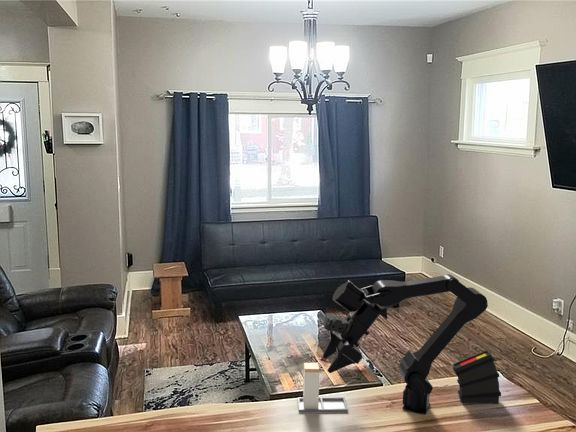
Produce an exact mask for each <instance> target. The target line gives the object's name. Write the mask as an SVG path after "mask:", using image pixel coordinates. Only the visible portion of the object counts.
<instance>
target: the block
mask: <svg viewBox="0 0 576 432" xmlns="http://www.w3.org/2000/svg"><path fill="white" fill-rule="evenodd" d="M302 384H303V385H302V386H303V391H302V394H303V395H302V397H303V406H304V409H318V406H319V397H320V396H319V395H320V364H319V362H303V383H302Z"/></svg>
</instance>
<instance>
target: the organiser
mask: <svg viewBox="0 0 576 432" xmlns="http://www.w3.org/2000/svg"><path fill="white" fill-rule="evenodd" d="M296 399H297V408H298V413H300V414H302V413H303V414H304V413H306V414H307V413H309V414H310V413H311V414H312V413H313V414H314V413H315V414H316V413H318V414H319V413H349V408H348V404H347V402H346V401H347V400H346V398H345V396H343V397H342V396H334V397H333V396H331V397H330V396H329V397H327V396H325V397H324V396H323V397H322V396H319V406H318V409H304V406H303V396H302V397H301V396H299V397H297V398H296Z"/></svg>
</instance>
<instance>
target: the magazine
mask: <svg viewBox="0 0 576 432" xmlns="http://www.w3.org/2000/svg"><path fill="white" fill-rule="evenodd" d="M494 361H495V358H494V356H493V355H492V354H491V352H490V351H489V350H483V351H481V352H479V353H476V354H474V355H472V356H470V357H467V358H465V359H464V358H463V360H460V361H457V362H455V363H453V364H452V366H453V367H452V370H453V371H454V374H455V375H456V376H457V379H456V382H457V384H458V386H459V390H457V394H458V398H459V400H460V402H461V403H463V404H464V403H465V404H495V405H496V404H499V403H500V397H501V396H502V391H500V383H499V378H500V377H501V376H500V373H499V372H498V370H497V367H496V364H495V362H494Z"/></svg>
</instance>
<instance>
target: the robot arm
mask: <svg viewBox="0 0 576 432" xmlns="http://www.w3.org/2000/svg"><path fill="white" fill-rule="evenodd" d="M448 292H451V293H452V294H453V295H454V296H455V297H456V299H455V300H454V304H453V306H452V309H451V312H450V313H449V314H448V315H447V317H446V318H445V319H444V320H443V321H442V323H441V324H440V325H438V327H437V328H436V330H435V331H434V332H433V333H432V334H431V335H430V337H429V338H428V339H427V340H426V341H425V342H424V344H423V345H422V346H421V348H419V349H418V350H416V351H415V352H413V351H411V350H410V349H409V350H407V352H406V353H405V355H404V356H403V357H402V358H401V359H399V365H398V373H399V374H400V377H402V379H403V381H404V382H405V384H406V385H405V387H404V389H403V392H402V405H403V406H402V410H404V411H407V412H410V413H411V412H412V413H414V414H415V413H416V414H420V415H426V414H427V413H428V410H429V408H430V407H431V403H430V394H432V391H433V389H434V387H433V385H432V384H431V382H430V381H429V380H428V378H427V377H428V376H429V374H430V371H431V369H432V365H433V362H434V361H435V360H436V359H437V357H438V356H439V355H440V354H441V353H442V352H443V350H444V349H445V348H446V347H447V346H448V345H449V343H450V342H451V341H452V340H453V339H454V338H455V336H456V335H457V334H458V333H459V332H460V331H461V329H462V328H463V327H464V326H465V325H466V324H467V323H469V322H472V321H474V320H475V319H477V318H478V317H480V316H481V315H482V314H483V313H484V312H486V310H487V308H488V307H489V305H488V300H487V297H486V296H485V295H484V294H482V293H481V292H480V291H479V290H477V289H476V288H474V287H469V286H468V287H467V286H465V285H464V284H463V283H462V282H460V280H458V278H456V277H455V276H454V275H452V274H451V273H450V274H449V273H447V274H444V275H440V276H433V277H425V278H420V279H415V280H414V279H413V280H407V281H399V280H392V279H391V280H389V279H387V280H386V279H379V280H377V281H375V282H374V283H373V285H372V284H371V285H368V286H365V287H362V288H359V287H358V286H356V285H355V284H354V283H353V282H352V281H351V280H349V279H348V280H347V281H346V282H344V283H342V284H341V285H340V286H338V287H337V288H336V290H335V291H334V293H333V295H332V301H334V302H335V303H337V304H338V305H339V306H341V307H342V308H343V309H345V310H346V311H347V312H353V314H352V315H351V314H349V315H347V316H346V317H345V318H344V317H341V316H338V315H334V314H331V313H326V314H325V316H324V320H323V323H322V325H323V328H324V329H325V330H326V331H328V332H329V340H328V343H327V345H326V347H325V350H324V352H323V354H322V358H323V359H325V360H326V359H328V358H329V357H331V356H332V355H334V354H335V353H336V354H335V357H334V358H333V360H332V362H331V364H330V365H329V366H328V369H327V373H329V374H332V373H334V372H336V371H338V370H341V369H343V368H345V367H348V366H351V365H355V364H357V365H359V364H360V362H361V361H362V360H363V355H362V352H361V350H360V348H359V346H361V344H360V343H359V342H360V340H361V339H362V338H363V337H364V336H369V334H370V332H369V330H370V328H372V326H373V324H374V323H375V322H376V320H377V319H378V318H379V317H380V316H381V317H383V318H384V319H386V320H388V318H389V316H388V308H389V307H391V306H394V305H398V304H401V303H402V302H403V301H405V300H408V299H411V298H417V297H423V296H429V295H436V294H443V293H448Z"/></svg>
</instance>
